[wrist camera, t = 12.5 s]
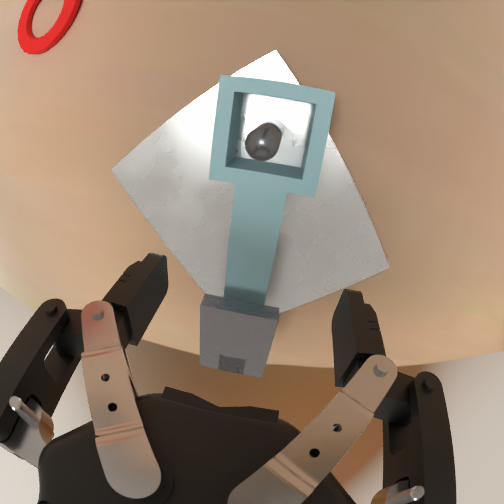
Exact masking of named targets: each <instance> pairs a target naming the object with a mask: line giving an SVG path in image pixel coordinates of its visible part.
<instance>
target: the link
mask: <svg viewBox="0 0 504 504" xmlns="http://www.w3.org/2000/svg"><path fill="white" fill-rule="evenodd" d="M243 93H248V94H257V95H264V96H271V97H278V98H284V99H290V100H295V101H301V102H306V103H311V104H312V110H311V116H310V121H309V127H308V132H307V138H306V143H305V148H304V154H303V159H302V164H301V168H299V167H294V166H289V165H283V164H278V163H272V162H266V161H258V160H254V159H247V158H241V157H235V154H236V146H237V138H238V130H239V122H240V115H241V107H242V100H243ZM335 94H336V92H332V91H328V90H323V89H319V88H314V87H309V86H304V85H299V84H293V83H287V82H281V81H274V80H267V79H259V78H251V77H241V76H229V75H220V78H219V86H218V94H217V102H216V111H215V120H214V129H213V139H212V149H211V159H210V171H209V180H215V181H222V182H229V183H235V192H234V200H233V209H232V218H231V228H230V237H229V246H228V256H227V266H226V276H225V287H224V297H225V298H230V299H235V300H240V301H245V302H250V303H256V304H261V305H264V304H265V299H266V294H267V290H268V285H269V280H270V275H271V271H272V266H273V261H274V256H275V251H276V246H277V241H278V236H279V231H280V226H281V221H282V216H283V211H284V206H285V201H286V196H287V192H288V193H293V194H298V195H303V196H308V197H313V198H315V193H316V189H317V184H318V180H319V175H320V171H321V166H322V161H323V157H324V152H325V147H326V142H327V137H328V132H329V127H330V122H331V116H332V111H333V106H334V100H335Z"/></svg>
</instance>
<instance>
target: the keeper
mask: <svg viewBox="0 0 504 504" xmlns="http://www.w3.org/2000/svg"><path fill="white" fill-rule="evenodd" d="M278 319H279V308H277V307H272V306H266V305H261V304H256V303H250V302H245V301H240V300H235V299H230V298H225V297H220V296H215V295H211V294H206V293H205V296H204V298H203V300H202V303H201V307H200V365H202V366H206V367H211V368H215V369H220V370H225V371H230V372H234V373H239V374H244V375H249V376H255V377H262V375H263V371H264V368H265V365H266V361H267V358H268V355H269V351H270V348H271V344H272V341H273V338H274V334H275V331H276V327H277V323H278Z"/></svg>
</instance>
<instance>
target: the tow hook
mask: <svg viewBox="0 0 504 504" xmlns="http://www.w3.org/2000/svg"><path fill="white" fill-rule="evenodd" d="M39 1H40V0H28V1H27V2H26V4H25V6H24V9H23V11H22V13H21V17H20V20H19V25H18V41H19V44H20V47H21V48H22V49H23V51H24V52H26V53H28V54H38V53H42V52H45V51H47V50H49V49H50V48H51V47H52V46H54V45H55V44H56V43H57V42H58V41H59V40H60V39H61V38H62V36H63V35H64V34H65V32H66V31H67V29H68V28H69V26H70V25H71V23H72V21H73V19H74V17H75V15H76V13H77V11H78V8H79V5H80V2H81V0H64V5H63V8H62V11H61V13H60V15H59V17H58V19H57V21H56V22H55V24H54V26H53V27H52V28H51V29H50V30H49V32H47V33H46V34H45V35H44V36H42V37H40V38H36V37H34V35H33V34H32V31H31V20H32V16H33V13H34V10H35V8H36V6H37V4H38V3H39Z"/></svg>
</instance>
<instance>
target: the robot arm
mask: <svg viewBox="0 0 504 504" xmlns="http://www.w3.org/2000/svg"><path fill="white" fill-rule="evenodd" d="M167 289H168V271H167V258H166V256H165V255H160V254H155V253H149V254H148V255H147V256H146V257H145V258H144V260H143V261H142V262H140V261H137V262H135V263H134V264H132V265H130V266H129V267H128V268H127V269H126V270H125V272H124V273H123V275H121V277H120V278H119V279H118V281H117V282H116V283H115V284H114V285H113V287H112V288H111V289H110V290H109V292H108V293H107V294H106V296H105V297H104V298H103V300H102V301H94V302H91V303H89V304H87V305H86V306H85V307H84V308H83V310H76V309H67V308H66V305H65V303H64V302H63V301H62V300H60V299H50V300H47V301H45V302H44V303H43V304H42V305H41V306H40V307H39V308H38V310H37V311H36V312H35V313H34V315H33V316H32V317H31V319H30V320H29V321H28V323H27V324H26V325H25V327H24V328H23V330H22V331H21V332H20V334H19V335H18V337H17V338H16V339H15V341H14V342H13V344H12V345H11V347H10V348H9V350H8V351H7V353H6V354H5V356H4V357H3V359H2V360H1V362H0V446H1V447H3V448H4V449H6V450H7V451H9V452H10V453H13V454H14V455H16V456H17V457H19V458H21V459H24V460H26V461H27V462H29V463H30V464H32V465H33V466H35V467H37V468H38V471H39V481H40V493H39V500H38V503H37V504H356V503H355V502H354V501H353V500H352V498H351V497H350V496H349V495H348V493H347V492H346V491H345V490H344V488H343V487H342V486H341V485H340V483H339V482H338V481H337V479H336V478H335V477H334V475H333V474H332V473H331V470H332V469H333V468H334V467H335V466H336V464H337V463H338V462H339V461H340V459H341V458H342V457H343V456H344V455H345V454H346V452H347V451H348V450H349V449H350V447H351V446H352V445H353V444H354V442H355V441H356V440H357V439H358V437H359V436H360V435H361V433H362V432H363V431H364V429H365V428H366V426H367V425H368V424H369V422H370V421H371V419H372V418H373V417H375V418H378V419H381V420H383V489H382V490H380V491H379V492H377V493H376V494H375V496H374V497H373V499H372V501H371V504H456V479H455V478H456V477H455V464H454V454H453V446H452V438H451V431H450V424H449V419H448V413H447V407H446V402H445V397H444V392H443V388H442V384H441V382H440V380H439V379H438V377H437V376H435V375H434V374H432V373H430V372H426V371H425V372H421V373H419V374H418V375H417V376H416V377H415V378H414V377H411V376H408V375H406V374H403V373H400V372H398V371H397V367H396V365H395V364H394V362H393V361H392V360H391V359H389V358H388V357H386V354H385V349H384V344H383V340H382V336H381V331H380V327H379V324H378V319H377V315H376V312H375V311H374V310H373V308H372V307H371V305H370V304H364V300H363V296H362V293H361V291H355V290H349V289H344V291H343V293H342V295H341V298H340V300H339V303H338V305H337V307H336V310H335V312H334V315H333V319H332V338H333V353H334V369H335V386H336V387H344V388H343V390H341V391H340V392H339V393H338V394H337V395H336V396H335V397H334V398H333V399H332V401H331V402H330V403H329V404H328V405H327V406H326V407H325V408H324V409H323V410H322V411H321V412H320V414H319V415H318V416H317V417H316V418H315V419H314V420H313V421H312V422H311V423H310V424H309V425H308V426H307V427H306V428H305V429H304V430H303V431H302V432H300V431H299V430H298V429H297V428H296V427H294V426H293V425H291V424H290V423H288V422H286V421H284V420H282V419H279V418H278V414H279V411H278V410H271V409H264V408H257V407H252V406H249V407H218V406H216V405H214V404H212V403H210V402H207V401H206V400H204V399H202V398H200V397H198V396H195V395H194V394H191V393H187V392H183V391H180V390H176V389H173V388H169V387H165V389H164V392H163V393H153V394H146V395H143V396H139V393H138V390H137V388H136V385H135V381H134V378H133V375H132V371H131V368H130V364H129V361H128V357H127V353H126V350H125V349H126V347H127V345H128V344H132V345H135V346H137V345H138V343H139V341H140V340H141V338H142V336H143V334H144V332H145V331H146V329H147V327H148V325H149V323H150V322H151V320H152V318H153V316H154V315H155V313H156V311H157V309H158V308H159V306H160V304H161V302H162V301H163V299H164V297H165V295H166V293H167ZM52 345H54V346H53V348H52V349H51V351H50V353H49V355H48V356H47V358H46V359H45V356H46V354H47V353H48V351H49V349H50V348H51V347H52ZM44 359H45V361H44ZM81 359H82V366H83V374H84V380H85V386H86V391H87V396H88V402H89V407H90V412H91V417H92V421H90V422H88V423H86V424H84V425H82V426H80V427H78V428H76V429H74V430H72V431H70V432H68V433H66V434H64V435H61V436H59V437H57V438H55V439H53V440H52V438H53V437H54V432H53V430H54V424H53V421H52V419H51V417H52V415H53V413H54V410H55V408H56V406H57V404H58V402H59V400H60V398H61V396H62V394H63V392H64V390H65V388H66V386H67V384H68V382H69V380H70V378H71V376H72V374H73V373H74V371H75V369H76V367H77V365H78V363H79V361H80V360H81Z"/></svg>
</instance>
